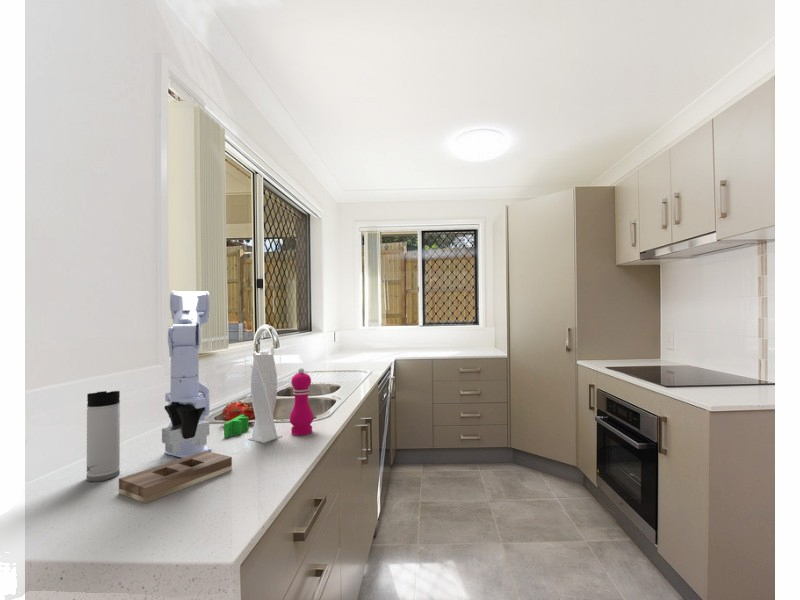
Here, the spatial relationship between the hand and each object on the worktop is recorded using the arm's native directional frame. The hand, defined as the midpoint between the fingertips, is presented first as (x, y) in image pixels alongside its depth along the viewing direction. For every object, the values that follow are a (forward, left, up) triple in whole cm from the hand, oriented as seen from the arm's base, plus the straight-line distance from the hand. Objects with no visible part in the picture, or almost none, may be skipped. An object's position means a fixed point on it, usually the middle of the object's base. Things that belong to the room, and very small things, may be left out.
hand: (184, 436), depth 95 cm
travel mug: (-18, -8, -10) cm, 22 cm away
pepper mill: (-2, +40, -10) cm, 41 cm away
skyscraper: (-7, +30, -10) cm, 32 cm away
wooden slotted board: (0, -1, -10) cm, 10 cm away
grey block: (0, 0, -3) cm, 3 cm away
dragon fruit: (-28, +38, -10) cm, 48 cm away
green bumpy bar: (-20, +31, -10) cm, 38 cm away
